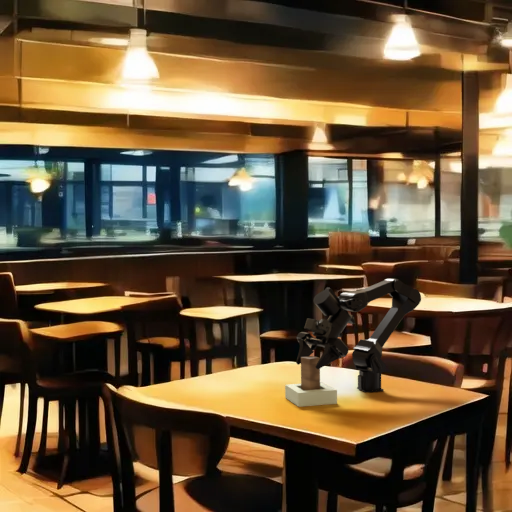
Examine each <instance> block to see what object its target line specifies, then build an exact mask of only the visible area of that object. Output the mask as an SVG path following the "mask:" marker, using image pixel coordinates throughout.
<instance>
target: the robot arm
mask: <svg viewBox="0 0 512 512" xmlns="http://www.w3.org/2000/svg"><path fill="white" fill-rule="evenodd" d="M387 295H389V297H391V298H392V299H391V307H390V309H389V310H388V312H387V313H386V314H385V316H384V317H383V319H382V320H381V321H380V323H379V324H378V325H377V327H376V328H375V330H374V331H373V332H372V334H371V335H370V337H369V338H368V339H359V341H358V342H357V344H356V345H355V346H354V347H353V348H352V349H353V351H352V352H351V356H352V357H351V359H352V362H353V364H354V368H355V370H357V371H358V375H357V387H356V389H357V390H359V391H361V392H363V393H373V392H374V393H375V392H383V391H384V388H382V373H385V371H386V367H387V366H386V363H385V362H384V361H383V360H382V357H383V347H384V346H385V344H386V343H387V341H388V340H389V338H390V337H391V335H392V334H393V333H394V331H395V330H396V329H397V327H398V326H399V324H400V323H401V321H402V320H403V318H404V317H405V316H406V315H407V314H409V313H410V312H413V311H414V310H415V309H416V308H417V307H418V306H419V305H420V303H421V301H422V295H421V293H420V291H419V290H418V289H417V288H413V287H412V286H410V285H407V284H406V283H404V282H402V281H401V280H400V279H398V278H389V277H388V278H385V279H384V280H382V281H380V282H378V283H377V282H376V283H375V284H373V285H370V286H367V287H365V288H363V289H359V290H349V291H345V292H342V293H340V294H339V296H337V294H336V293H335V292H334V290H333V289H332V287H331V288H330V287H326V288H325V289H324V290H322V291H320V292H318V293H317V294H316V295H315V296H314V297H313V304H314V305H316V307H317V309H319V310H320V312H321V313H322V314H323V316H326V317H328V318H327V319H325V318H321V319H315V318H306V321H305V325H304V327H303V328H304V330H308V331H310V332H312V333H310V332H305V331H301V332H299V333H298V334H297V335H296V340H297V342H298V344H299V350H298V354H297V358H296V364H297V365H298V366H299V365H301V357H306V356H312V354H313V353H314V352H315V350H316V349H317V348H318V347H322V348H324V349H323V350H324V351H323V353H322V355H321V356H320V359H319V361H318V363H317V365H316V368H317V369H320V370H321V368H323V367H325V366H326V365H329V364H331V363H332V362H335V361H337V360H338V359H339V360H340V359H342V358H346V357H347V355H348V353H349V346H347V345H346V343H345V342H344V341H343V340H342V337H343V336H344V334H343V333H342V332H343V331H344V329H345V328H346V327H347V325H348V324H351V325H355V324H356V320H355V315H354V314H351V313H350V312H354V313H357V312H360V311H362V310H363V309H365V308H366V307H367V306H368V304H369V303H370V302H373V301H376V300H378V299H380V298H382V297H385V296H387ZM312 335H313V336H314V337H315V338H314V337H313V336H312Z"/></svg>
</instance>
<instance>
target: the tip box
mask: <svg viewBox="0 0 512 512" xmlns="http://www.w3.org/2000/svg"><path fill="white" fill-rule="evenodd" d="M284 386H285V387H284V389H285V390H284V391H285V392H284V393H285V394H284V395H285V397H284V398H285V399H287V400H288V401H289V402H291V403H292V404H294V406H297V407H298V408H300V407H313V406H321V405H322V406H325V405H336V404H337V405H338V390H337V389H336V388H334V387H332V386H330V385H328V384H327V383H325V382H323V381H320V389H318V390H305V391H303V390H302V389H301V383H289V384H285V385H284Z"/></svg>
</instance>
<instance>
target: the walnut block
mask: <svg viewBox="0 0 512 512" xmlns="http://www.w3.org/2000/svg"><path fill="white" fill-rule="evenodd" d="M320 358H321V356H319V357H318V356H313V355H310V356H306V357H301V363H300V384H301V389H302V390H303V391H305V390H318V389H320V382H321V368H320V369H317V368H316V365H317V363H318V361H319V359H320Z"/></svg>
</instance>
